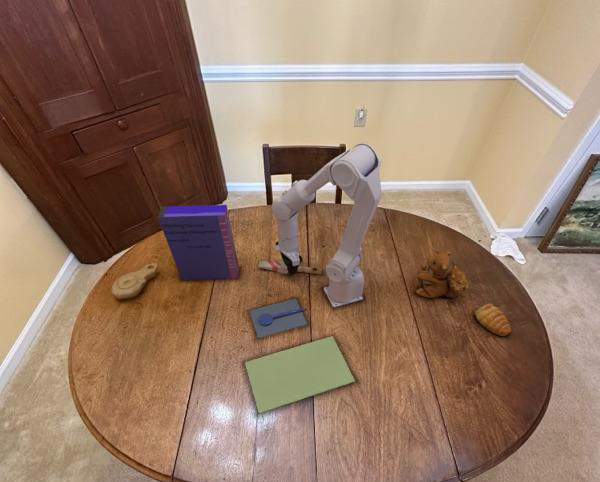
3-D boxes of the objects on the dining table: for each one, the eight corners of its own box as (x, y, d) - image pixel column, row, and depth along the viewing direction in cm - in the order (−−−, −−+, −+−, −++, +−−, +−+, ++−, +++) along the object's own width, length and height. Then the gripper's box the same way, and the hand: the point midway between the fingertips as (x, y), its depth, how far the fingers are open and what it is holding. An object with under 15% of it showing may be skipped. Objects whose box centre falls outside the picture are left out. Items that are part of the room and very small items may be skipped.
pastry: (515, 331, 94) (521, 323, 91) (496, 341, 92) (502, 332, 89) (488, 307, 100) (493, 298, 97) (470, 315, 98) (475, 307, 95)
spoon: (302, 304, 101) (302, 302, 100) (307, 314, 98) (307, 312, 97) (257, 317, 98) (256, 314, 97) (260, 327, 95) (260, 325, 95)
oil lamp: (163, 271, 111) (158, 260, 108) (145, 306, 102) (139, 294, 98) (131, 269, 112) (125, 258, 109) (110, 303, 103) (103, 292, 99)
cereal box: (239, 268, 112) (226, 204, 95) (237, 278, 109) (224, 214, 91) (184, 269, 112) (162, 205, 94) (181, 280, 109) (157, 216, 91)
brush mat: (332, 336, 94) (332, 335, 93) (354, 381, 84) (355, 380, 84) (244, 363, 88) (244, 362, 88) (258, 414, 79) (258, 413, 79)
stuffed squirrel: (419, 272, 110) (430, 239, 100) (466, 288, 105) (482, 255, 95) (409, 292, 104) (420, 259, 94) (458, 310, 99) (474, 278, 89)
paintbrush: (259, 256, 111) (322, 264, 109) (260, 262, 113) (321, 270, 111) (256, 264, 109) (320, 273, 107) (257, 270, 111) (319, 279, 109)
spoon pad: (295, 299, 103) (295, 298, 103) (307, 324, 96) (307, 323, 96) (249, 311, 100) (249, 310, 100) (258, 338, 93) (258, 338, 93)
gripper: (267, 221, 104) (271, 255, 114) (282, 252, 94) (284, 286, 104) (290, 216, 105) (291, 250, 115) (306, 246, 96) (306, 280, 106)
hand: (289, 267), depth 110 cm, fingers open, 6 cm apart
